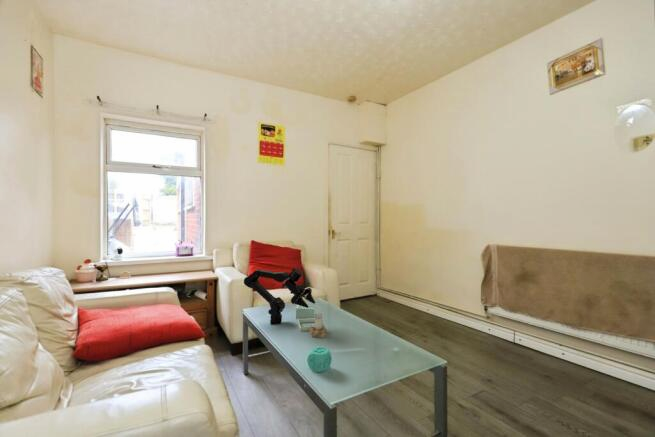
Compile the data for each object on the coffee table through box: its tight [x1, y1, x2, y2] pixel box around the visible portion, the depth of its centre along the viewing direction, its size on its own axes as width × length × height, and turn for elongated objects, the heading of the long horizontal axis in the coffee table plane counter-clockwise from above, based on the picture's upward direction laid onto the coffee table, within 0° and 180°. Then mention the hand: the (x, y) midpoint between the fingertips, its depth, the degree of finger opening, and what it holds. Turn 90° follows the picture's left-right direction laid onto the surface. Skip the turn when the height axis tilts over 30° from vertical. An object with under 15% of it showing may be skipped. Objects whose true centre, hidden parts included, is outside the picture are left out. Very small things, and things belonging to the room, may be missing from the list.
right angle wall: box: [295, 304, 315, 320], centre depth 197 cm, size 12×12×8 cm
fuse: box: [314, 312, 323, 331], centre depth 165 cm, size 4×4×11 cm
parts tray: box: [296, 317, 315, 332], centre depth 177 cm, size 14×14×3 cm
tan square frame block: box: [309, 324, 328, 338], centre depth 165 cm, size 8×8×4 cm
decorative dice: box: [306, 346, 333, 373], centre depth 130 cm, size 8×8×8 cm
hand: (311, 305), depth 173 cm, fingers open, 9 cm apart
